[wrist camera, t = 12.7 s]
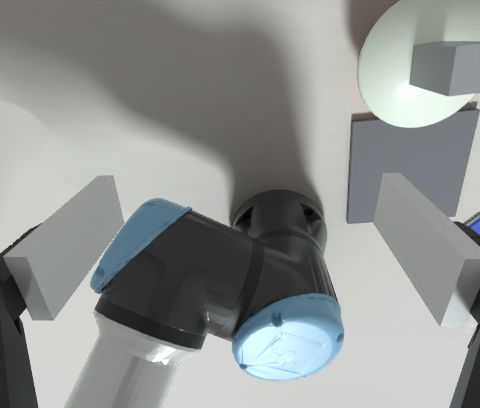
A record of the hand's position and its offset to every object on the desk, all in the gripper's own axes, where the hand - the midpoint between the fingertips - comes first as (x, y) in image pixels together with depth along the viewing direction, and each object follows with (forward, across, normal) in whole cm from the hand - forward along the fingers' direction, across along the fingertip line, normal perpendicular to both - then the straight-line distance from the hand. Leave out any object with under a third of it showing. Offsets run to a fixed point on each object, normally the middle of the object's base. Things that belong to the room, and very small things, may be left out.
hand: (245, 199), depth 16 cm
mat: (+30, -22, +10) cm, 39 cm away
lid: (+25, -19, -4) cm, 32 cm away
